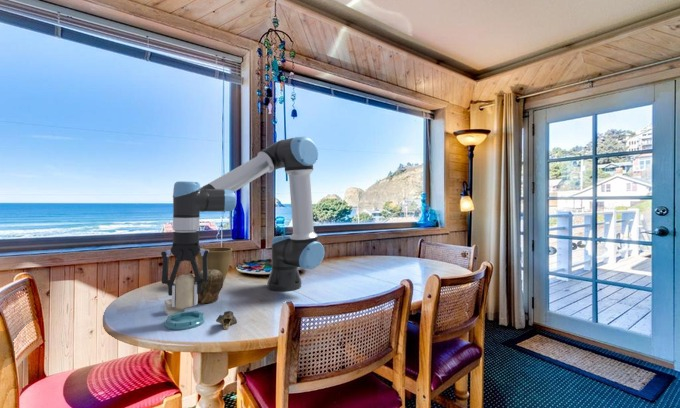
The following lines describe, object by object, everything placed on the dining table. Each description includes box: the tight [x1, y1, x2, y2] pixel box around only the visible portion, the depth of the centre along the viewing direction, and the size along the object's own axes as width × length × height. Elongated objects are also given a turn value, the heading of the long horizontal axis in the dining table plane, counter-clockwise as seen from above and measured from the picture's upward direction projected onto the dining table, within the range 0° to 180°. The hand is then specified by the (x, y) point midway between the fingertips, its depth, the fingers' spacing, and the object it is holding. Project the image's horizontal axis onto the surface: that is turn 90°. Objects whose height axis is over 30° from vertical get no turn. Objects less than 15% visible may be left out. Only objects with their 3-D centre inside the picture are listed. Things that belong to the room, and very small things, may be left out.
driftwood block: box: [164, 298, 185, 316], centre depth 113 cm, size 5×5×4 cm
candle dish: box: [164, 310, 205, 331], centre depth 103 cm, size 11×11×2 cm
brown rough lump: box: [195, 269, 224, 305], centre depth 125 cm, size 11×11×12 cm
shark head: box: [215, 310, 238, 331], centre depth 100 cm, size 8×6×7 cm
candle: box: [175, 272, 195, 309], centre depth 103 cm, size 6×6×10 cm
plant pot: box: [197, 246, 233, 283], centre depth 149 cm, size 15×15×16 cm
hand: (185, 304), depth 103 cm, fingers closed on candle, 5 cm apart
